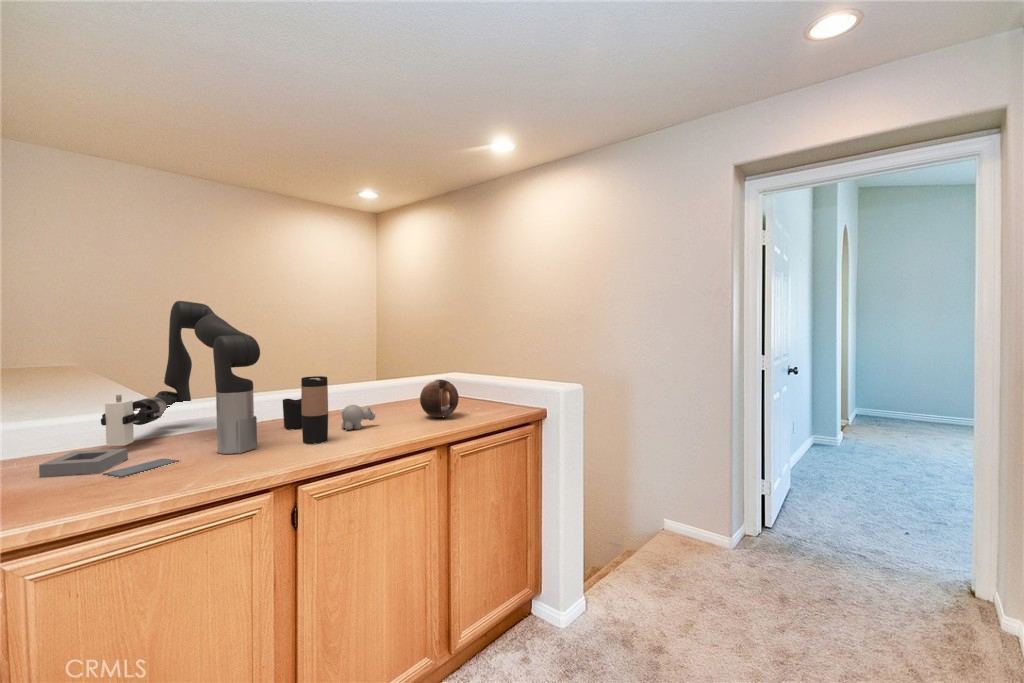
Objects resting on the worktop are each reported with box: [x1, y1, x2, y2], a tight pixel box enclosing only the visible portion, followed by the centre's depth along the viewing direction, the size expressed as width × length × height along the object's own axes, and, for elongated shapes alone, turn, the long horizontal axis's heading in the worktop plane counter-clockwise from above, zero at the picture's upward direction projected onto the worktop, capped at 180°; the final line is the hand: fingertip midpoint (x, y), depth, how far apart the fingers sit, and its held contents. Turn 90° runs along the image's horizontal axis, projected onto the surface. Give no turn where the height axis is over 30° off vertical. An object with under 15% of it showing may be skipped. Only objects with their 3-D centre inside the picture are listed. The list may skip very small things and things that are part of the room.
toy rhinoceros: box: [341, 404, 377, 431], centre depth 161 cm, size 7×12×8 cm, turn 126°
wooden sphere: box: [419, 379, 460, 418], centre depth 180 cm, size 15×15×15 cm
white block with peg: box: [104, 394, 135, 447], centre depth 130 cm, size 4×4×14 cm
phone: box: [102, 458, 180, 479], centre depth 116 cm, size 7×14×1 cm, turn 160°
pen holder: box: [282, 398, 302, 430], centre depth 163 cm, size 9×9×10 cm
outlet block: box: [38, 448, 129, 478], centre depth 116 cm, size 12×12×3 cm
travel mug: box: [300, 375, 329, 445], centre depth 142 cm, size 8×8×20 cm
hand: (113, 421), depth 128 cm, fingers closed on white block with peg, 4 cm apart
